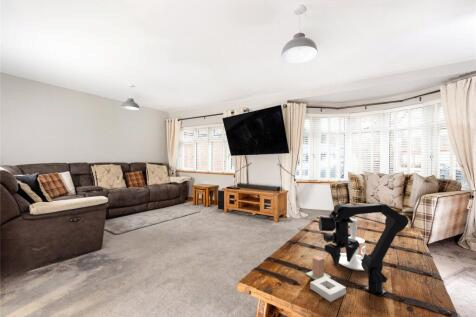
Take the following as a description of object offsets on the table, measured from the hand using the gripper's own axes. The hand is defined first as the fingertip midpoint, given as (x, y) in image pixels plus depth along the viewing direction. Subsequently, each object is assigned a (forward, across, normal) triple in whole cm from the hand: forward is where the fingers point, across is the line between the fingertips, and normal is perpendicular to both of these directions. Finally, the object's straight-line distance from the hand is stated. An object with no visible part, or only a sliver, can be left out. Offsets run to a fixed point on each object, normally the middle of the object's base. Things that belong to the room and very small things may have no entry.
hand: (342, 263), depth 100 cm
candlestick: (+12, -28, -11) cm, 32 cm away
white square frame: (+12, +8, -2) cm, 14 cm away
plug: (+11, +2, -13) cm, 17 cm away
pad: (+12, +2, -13) cm, 18 cm away
